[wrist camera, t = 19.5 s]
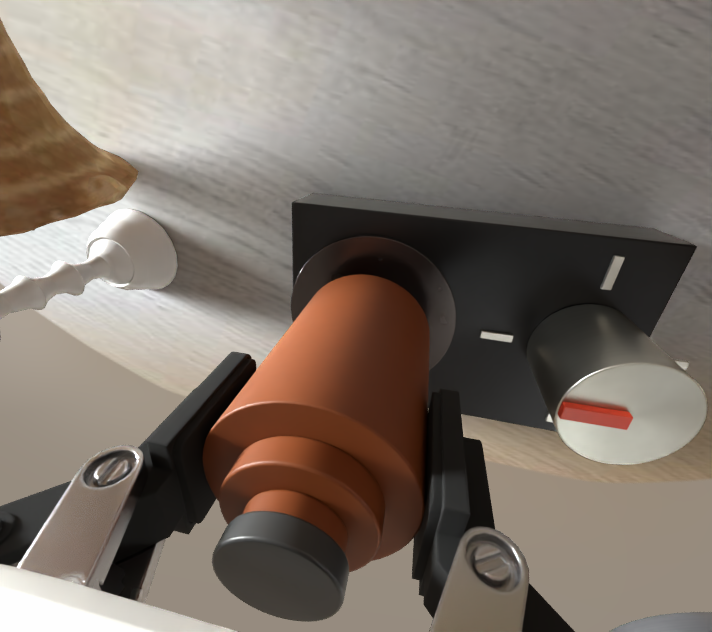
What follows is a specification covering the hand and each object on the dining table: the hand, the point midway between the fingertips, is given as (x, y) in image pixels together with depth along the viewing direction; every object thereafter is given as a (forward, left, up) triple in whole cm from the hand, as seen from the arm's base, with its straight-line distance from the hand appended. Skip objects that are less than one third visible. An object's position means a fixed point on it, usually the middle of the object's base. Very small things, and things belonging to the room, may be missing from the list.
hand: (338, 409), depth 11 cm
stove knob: (0, -10, -7) cm, 12 cm away
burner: (0, 0, -7) cm, 7 cm away
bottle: (0, 0, -5) cm, 5 cm away
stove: (0, -4, -10) cm, 10 cm away
